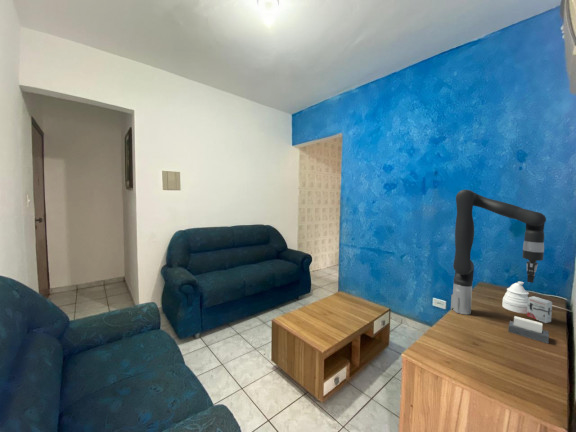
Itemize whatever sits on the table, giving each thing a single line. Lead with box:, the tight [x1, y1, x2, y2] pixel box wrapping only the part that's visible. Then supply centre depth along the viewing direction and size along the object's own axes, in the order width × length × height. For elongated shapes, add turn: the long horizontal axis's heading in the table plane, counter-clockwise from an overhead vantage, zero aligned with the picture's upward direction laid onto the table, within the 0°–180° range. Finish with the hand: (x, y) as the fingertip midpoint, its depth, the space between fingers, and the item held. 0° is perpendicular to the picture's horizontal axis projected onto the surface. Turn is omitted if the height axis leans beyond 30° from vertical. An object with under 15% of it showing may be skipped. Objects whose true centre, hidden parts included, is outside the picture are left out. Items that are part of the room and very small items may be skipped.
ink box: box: [526, 295, 553, 324], centre depth 134 cm, size 8×5×12 cm, turn 17°
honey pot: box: [501, 281, 530, 315], centre depth 147 cm, size 13×13×18 cm
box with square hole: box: [507, 320, 550, 344], centre depth 119 cm, size 14×7×4 cm, turn 42°
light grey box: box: [513, 315, 543, 333], centre depth 119 cm, size 10×3×7 cm, turn 43°
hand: (530, 280), depth 122 cm, fingers open, 8 cm apart
